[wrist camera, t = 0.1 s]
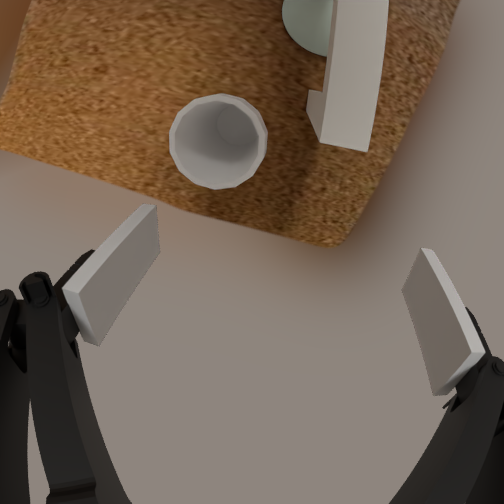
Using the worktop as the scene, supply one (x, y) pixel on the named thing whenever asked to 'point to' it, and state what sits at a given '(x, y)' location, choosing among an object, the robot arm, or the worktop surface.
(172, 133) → the foam cup
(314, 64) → the worktop surface
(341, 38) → the keeper arch
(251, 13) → the worktop surface
